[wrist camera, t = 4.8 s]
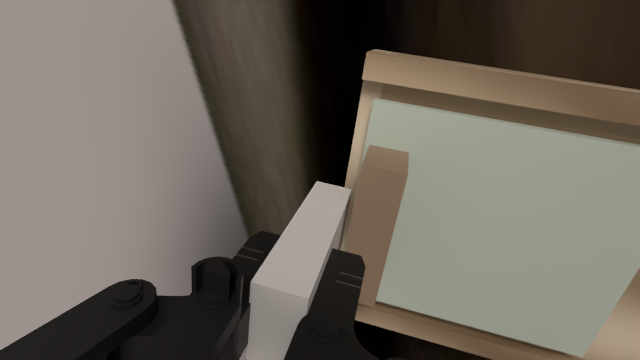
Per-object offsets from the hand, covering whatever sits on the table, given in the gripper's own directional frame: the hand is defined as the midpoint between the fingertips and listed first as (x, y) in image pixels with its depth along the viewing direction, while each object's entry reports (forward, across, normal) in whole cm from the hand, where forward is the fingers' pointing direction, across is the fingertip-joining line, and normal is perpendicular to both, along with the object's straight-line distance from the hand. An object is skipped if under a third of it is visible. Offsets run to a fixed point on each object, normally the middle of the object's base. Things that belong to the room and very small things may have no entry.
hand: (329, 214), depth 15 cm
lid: (+2, +6, 0) cm, 7 cm away
